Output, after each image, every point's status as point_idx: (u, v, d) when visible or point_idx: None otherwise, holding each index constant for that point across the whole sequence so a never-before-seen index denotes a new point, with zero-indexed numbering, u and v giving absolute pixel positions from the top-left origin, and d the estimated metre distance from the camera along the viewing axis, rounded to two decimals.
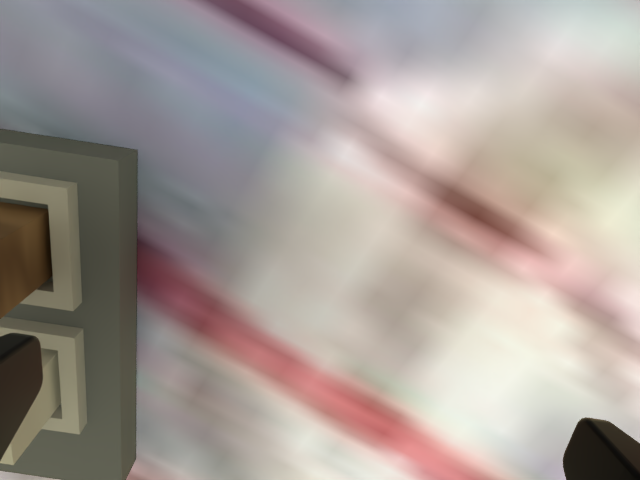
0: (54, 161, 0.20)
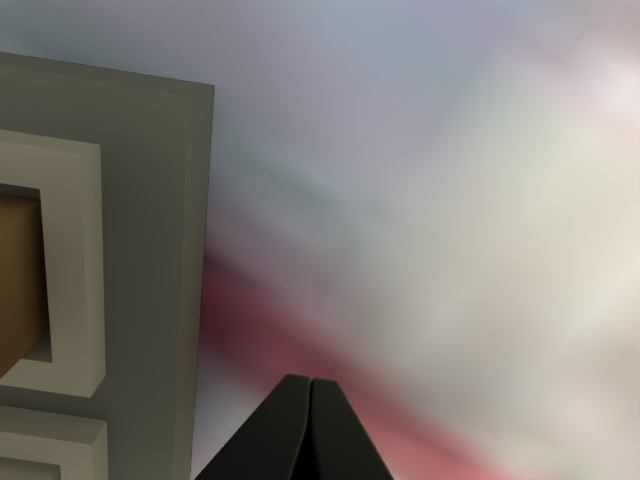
0: (53, 98, 0.10)
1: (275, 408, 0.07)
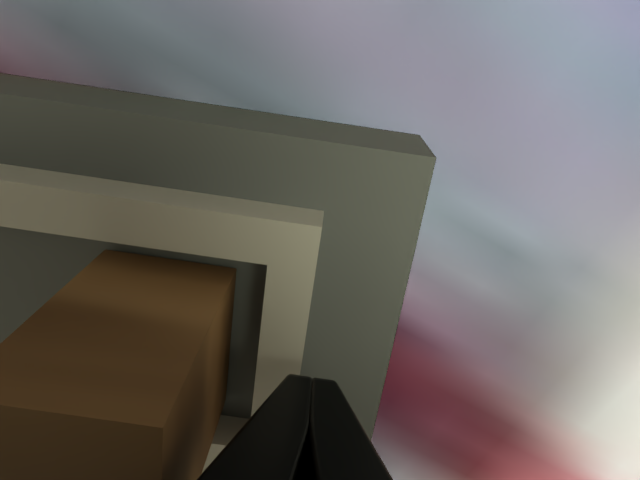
0: (278, 160, 0.08)
1: (277, 408, 0.07)
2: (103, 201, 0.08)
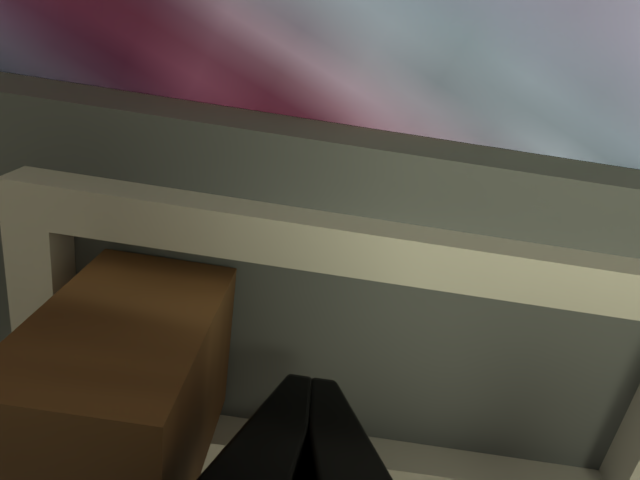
0: None
1: (277, 408, 0.07)
2: (559, 269, 0.08)
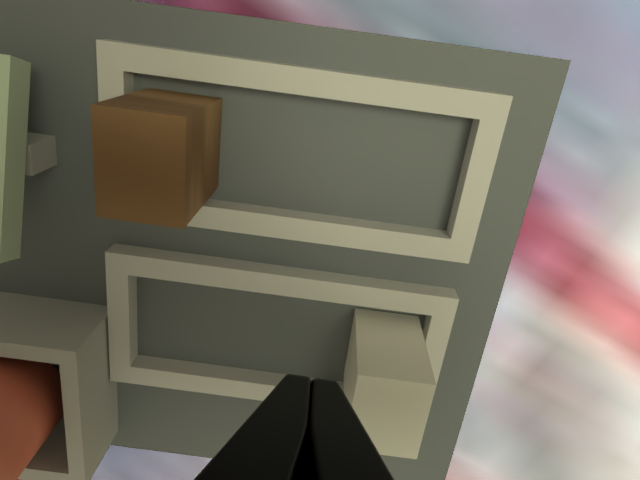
0: (483, 64, 0.16)
1: (275, 408, 0.07)
2: (397, 84, 0.15)
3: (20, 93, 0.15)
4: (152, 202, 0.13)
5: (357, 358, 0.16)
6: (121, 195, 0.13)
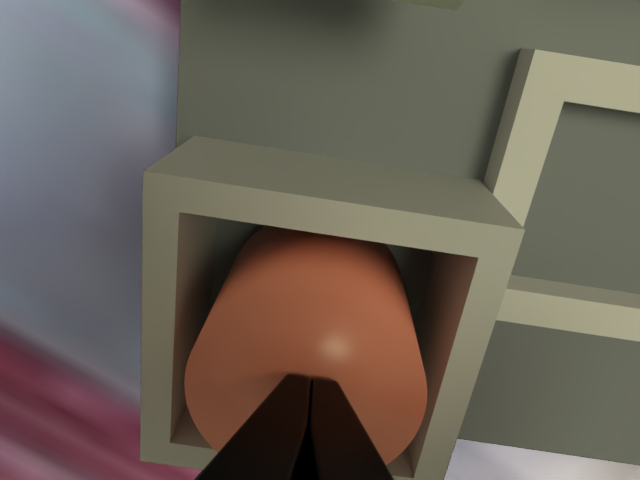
0: None
1: (275, 408, 0.07)
2: None
3: None
4: None
5: None
6: None
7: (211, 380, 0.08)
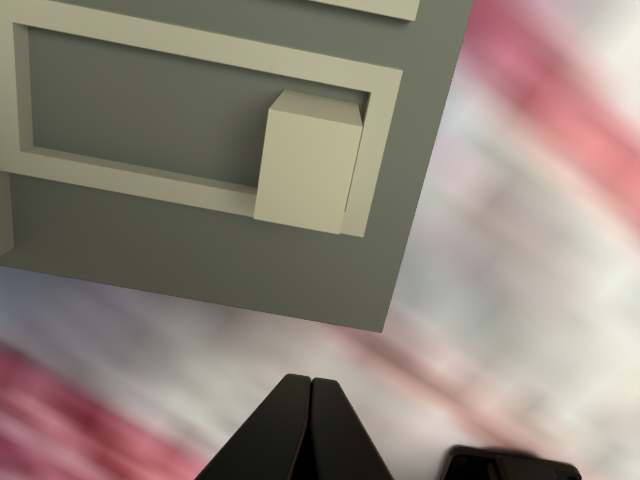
0: None
1: (275, 408, 0.07)
2: None
3: None
4: None
5: (273, 104, 0.13)
6: None
7: None
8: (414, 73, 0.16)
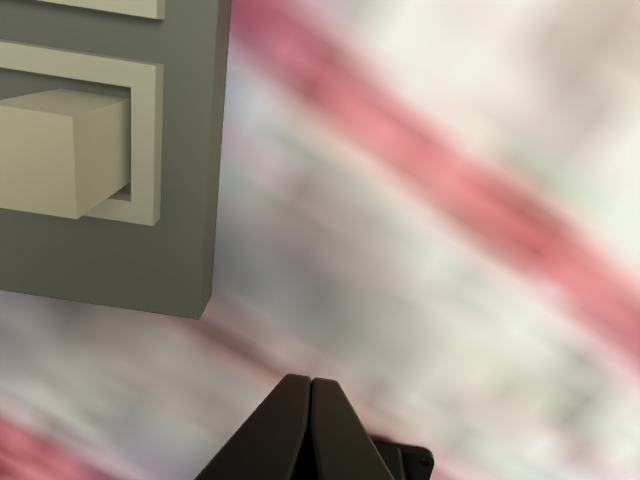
0: None
1: (275, 408, 0.07)
2: None
3: None
4: None
5: (5, 100, 0.14)
6: None
7: None
8: (177, 68, 0.17)
